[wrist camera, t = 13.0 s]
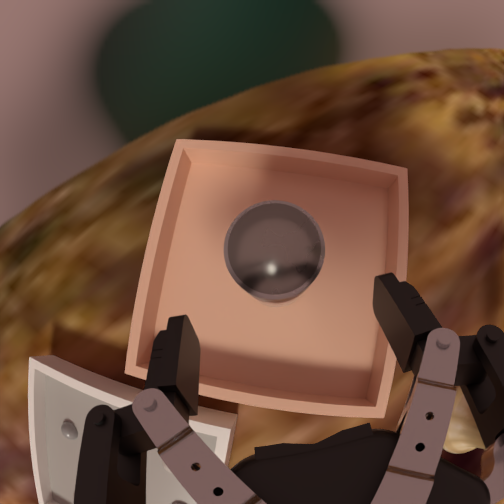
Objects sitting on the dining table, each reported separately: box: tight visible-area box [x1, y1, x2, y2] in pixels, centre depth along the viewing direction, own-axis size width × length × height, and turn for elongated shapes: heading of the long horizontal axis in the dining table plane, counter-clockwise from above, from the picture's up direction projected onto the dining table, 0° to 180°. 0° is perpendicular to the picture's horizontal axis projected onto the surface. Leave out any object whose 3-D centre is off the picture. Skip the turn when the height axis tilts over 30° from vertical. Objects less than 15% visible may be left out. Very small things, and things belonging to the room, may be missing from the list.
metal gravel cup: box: [224, 200, 325, 307], centre depth 17 cm, size 4×4×9 cm
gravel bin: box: [28, 355, 238, 504], centre depth 18 cm, size 18×18×4 cm
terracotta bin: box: [125, 139, 409, 418], centre depth 21 cm, size 18×18×4 cm
